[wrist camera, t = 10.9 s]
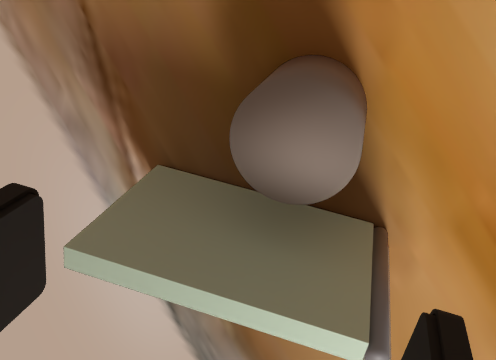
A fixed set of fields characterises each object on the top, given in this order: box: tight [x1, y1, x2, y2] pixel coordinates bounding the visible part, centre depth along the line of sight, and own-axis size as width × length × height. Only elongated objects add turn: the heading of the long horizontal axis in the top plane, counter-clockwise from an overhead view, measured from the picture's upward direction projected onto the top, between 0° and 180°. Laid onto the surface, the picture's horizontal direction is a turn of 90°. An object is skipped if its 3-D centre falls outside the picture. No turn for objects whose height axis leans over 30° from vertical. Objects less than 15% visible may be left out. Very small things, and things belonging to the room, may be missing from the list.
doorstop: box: [229, 55, 367, 205], centre depth 23 cm, size 6×6×6 cm
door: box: [64, 165, 390, 360], centre depth 24 cm, size 15×1×10 cm, turn 81°
